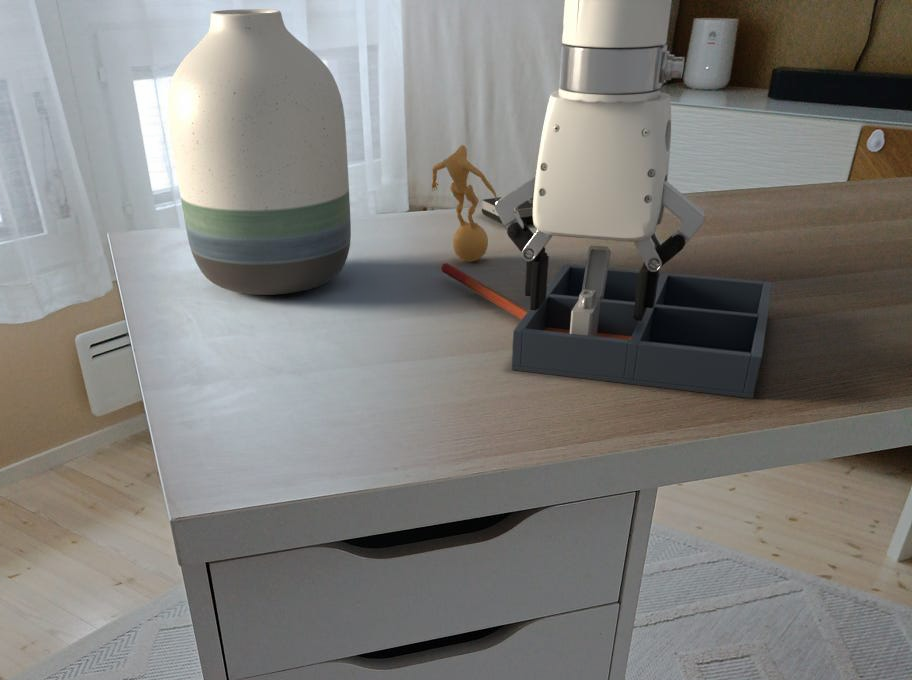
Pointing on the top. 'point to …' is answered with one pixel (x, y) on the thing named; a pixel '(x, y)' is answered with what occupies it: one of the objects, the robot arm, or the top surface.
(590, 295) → the lighter
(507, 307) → the pencil
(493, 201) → the external hard drive
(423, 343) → the top surface
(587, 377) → the grid
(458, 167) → the figurine
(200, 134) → the vase
